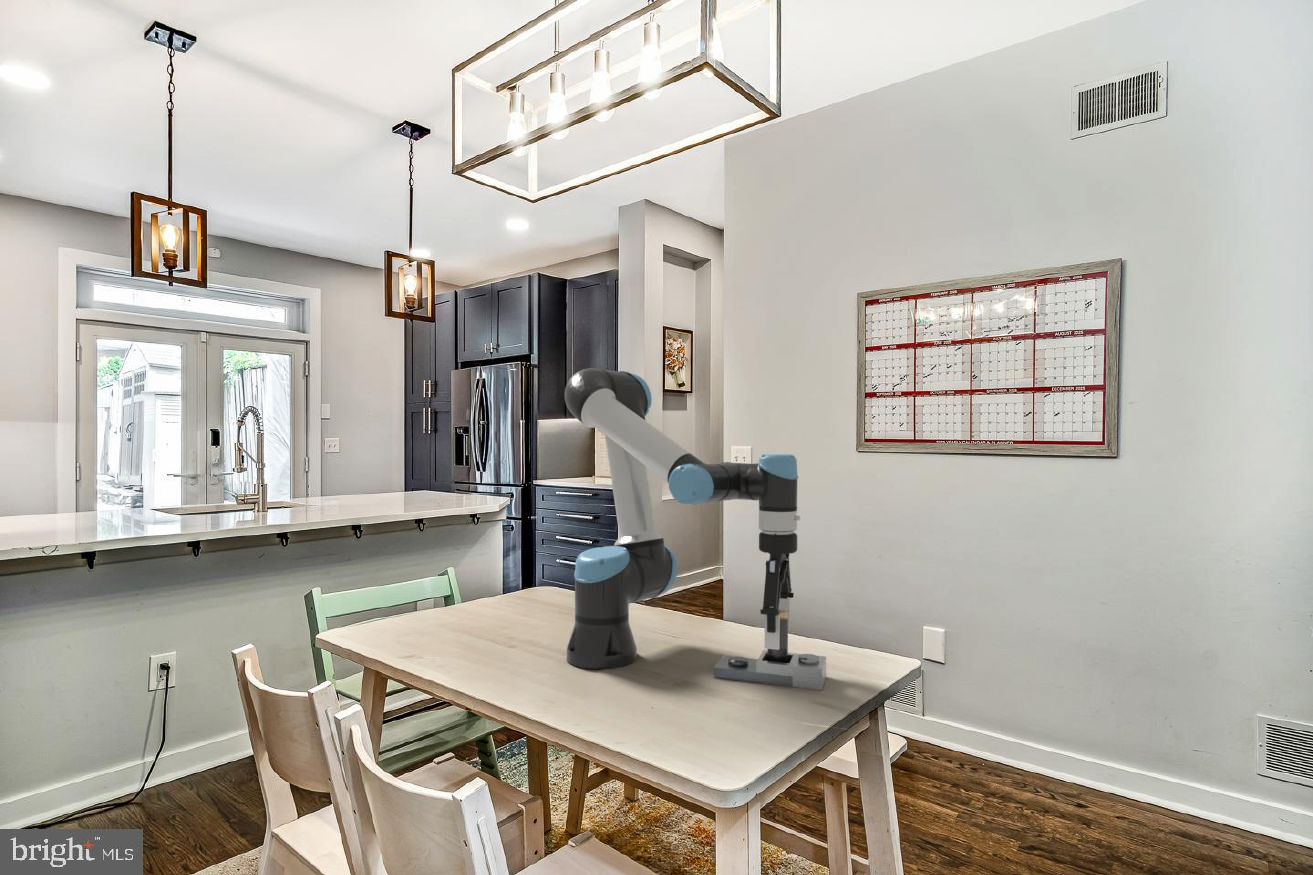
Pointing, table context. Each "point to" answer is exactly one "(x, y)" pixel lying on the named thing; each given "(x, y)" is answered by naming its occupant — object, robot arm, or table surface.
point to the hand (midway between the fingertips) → (777, 638)
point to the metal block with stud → (775, 670)
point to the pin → (781, 641)
